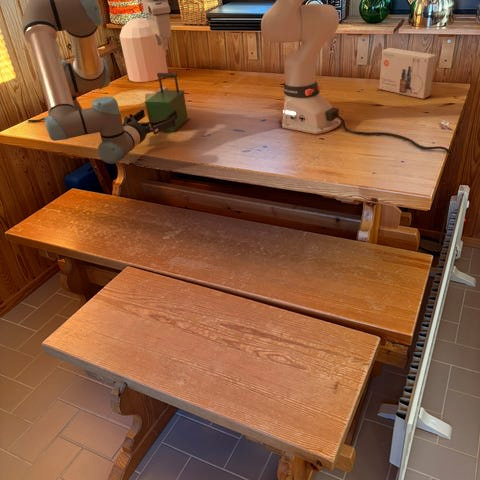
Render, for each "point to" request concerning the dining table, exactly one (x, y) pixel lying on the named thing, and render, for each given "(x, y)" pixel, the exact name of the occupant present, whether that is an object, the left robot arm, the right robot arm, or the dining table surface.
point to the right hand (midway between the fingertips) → (162, 47)
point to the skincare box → (407, 72)
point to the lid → (165, 92)
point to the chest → (168, 112)
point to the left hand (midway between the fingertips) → (159, 113)
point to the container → (142, 51)
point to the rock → (149, 95)
